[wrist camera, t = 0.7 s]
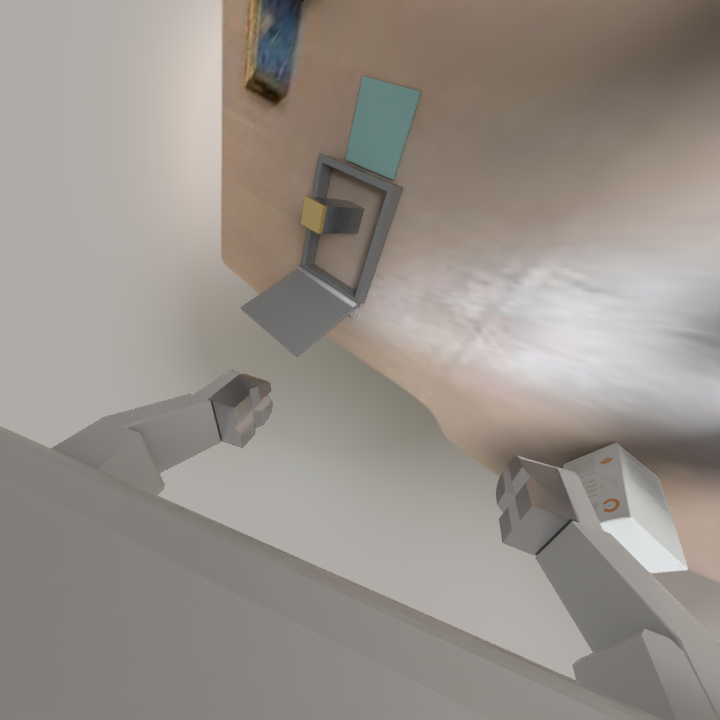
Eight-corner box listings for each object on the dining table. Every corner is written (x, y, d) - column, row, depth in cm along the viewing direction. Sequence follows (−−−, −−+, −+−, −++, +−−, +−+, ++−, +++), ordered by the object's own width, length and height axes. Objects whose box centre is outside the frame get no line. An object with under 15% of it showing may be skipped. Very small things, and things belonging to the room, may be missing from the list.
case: (329, 156, 46) (242, 132, 35) (403, 188, 41) (329, 172, 29) (304, 295, 63) (240, 310, 51) (354, 331, 57) (295, 357, 46)
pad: (364, 77, 38) (362, 76, 38) (421, 92, 35) (420, 91, 35) (346, 160, 45) (345, 159, 44) (393, 179, 41) (392, 179, 41)
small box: (599, 496, 39) (603, 579, 30) (562, 463, 41) (555, 532, 32) (662, 478, 34) (691, 572, 25) (617, 440, 36) (628, 515, 26)
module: (347, 200, 47) (304, 195, 40) (364, 209, 46) (323, 205, 39) (341, 224, 50) (300, 223, 43) (357, 233, 48) (318, 233, 41)
